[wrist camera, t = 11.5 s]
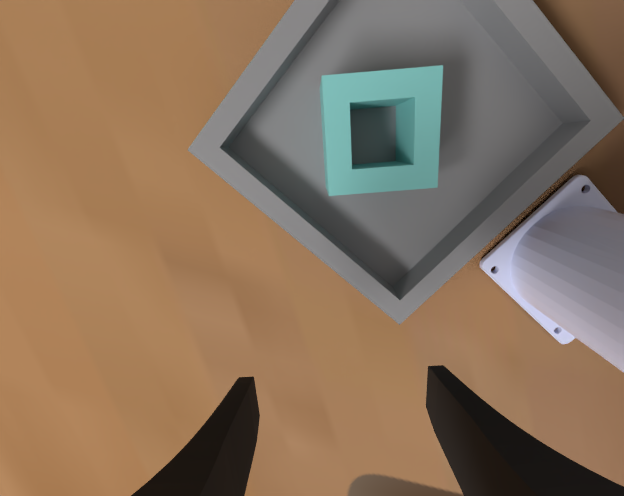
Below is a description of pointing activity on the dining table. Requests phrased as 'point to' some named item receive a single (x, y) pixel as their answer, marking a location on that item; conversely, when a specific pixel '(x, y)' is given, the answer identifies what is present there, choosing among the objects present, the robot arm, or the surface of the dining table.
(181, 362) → the dining table surface
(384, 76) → the collar
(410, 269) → the tray
